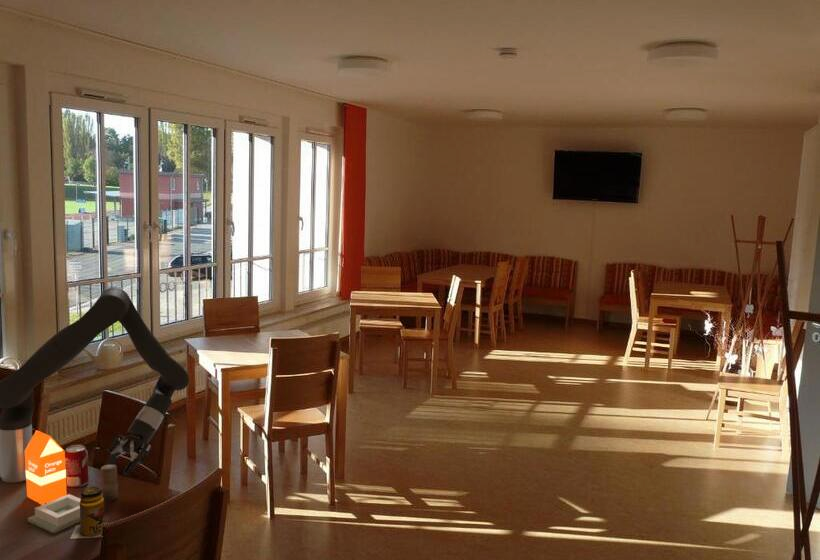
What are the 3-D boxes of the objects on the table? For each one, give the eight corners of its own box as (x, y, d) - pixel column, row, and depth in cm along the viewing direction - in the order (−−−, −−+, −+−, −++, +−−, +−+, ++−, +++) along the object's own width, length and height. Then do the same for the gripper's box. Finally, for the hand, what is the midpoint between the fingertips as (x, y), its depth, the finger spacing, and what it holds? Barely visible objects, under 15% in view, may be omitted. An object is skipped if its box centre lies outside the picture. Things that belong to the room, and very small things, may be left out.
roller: (98, 498, 212) (97, 468, 211) (111, 492, 216) (110, 463, 215) (108, 502, 210) (107, 472, 209) (121, 496, 214) (120, 466, 213)
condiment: (103, 536, 190) (101, 495, 189) (69, 539, 189) (67, 497, 187) (108, 523, 198) (107, 483, 196) (76, 526, 196) (74, 485, 194)
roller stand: (27, 521, 197) (27, 509, 197) (73, 502, 209) (72, 491, 209) (53, 533, 191) (52, 521, 191) (99, 513, 203) (98, 501, 203)
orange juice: (52, 487, 218) (48, 426, 215) (67, 496, 213) (64, 433, 210) (26, 496, 212) (22, 433, 209) (41, 505, 207) (37, 440, 204)
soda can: (79, 490, 217) (77, 453, 215) (60, 487, 219) (58, 451, 217) (93, 481, 224) (92, 445, 222) (74, 478, 225) (73, 443, 223)
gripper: (123, 413, 223) (93, 460, 215) (154, 422, 216) (123, 471, 208) (138, 425, 228) (108, 470, 220) (168, 434, 221) (139, 481, 213)
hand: (116, 470), depth 214 cm, fingers open, 8 cm apart
